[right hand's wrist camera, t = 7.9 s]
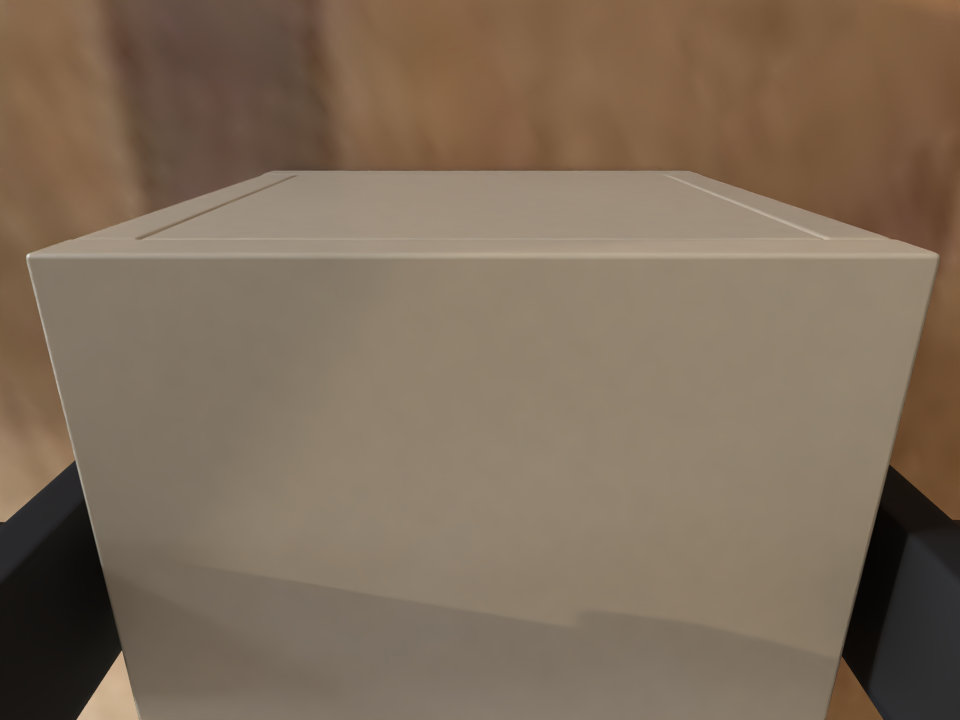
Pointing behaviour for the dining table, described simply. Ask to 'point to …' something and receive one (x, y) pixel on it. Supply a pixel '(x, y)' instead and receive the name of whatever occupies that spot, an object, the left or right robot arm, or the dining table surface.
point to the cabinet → (482, 442)
